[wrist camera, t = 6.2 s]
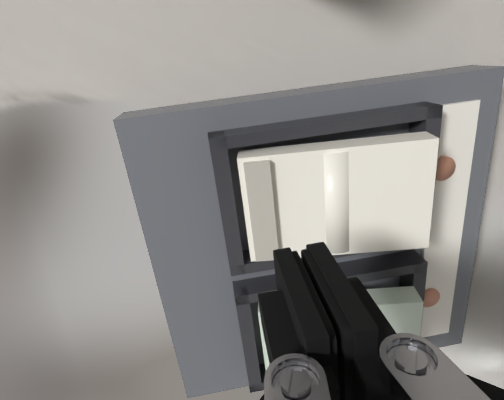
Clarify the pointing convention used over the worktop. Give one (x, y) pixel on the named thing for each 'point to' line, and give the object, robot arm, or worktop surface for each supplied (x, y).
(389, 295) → the rocker sage
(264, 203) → the rocker ivory
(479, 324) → the worktop surface
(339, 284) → the robot arm
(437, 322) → the switch panel
